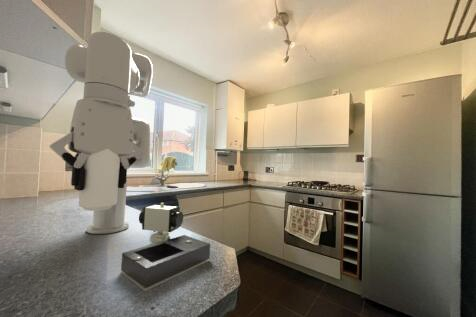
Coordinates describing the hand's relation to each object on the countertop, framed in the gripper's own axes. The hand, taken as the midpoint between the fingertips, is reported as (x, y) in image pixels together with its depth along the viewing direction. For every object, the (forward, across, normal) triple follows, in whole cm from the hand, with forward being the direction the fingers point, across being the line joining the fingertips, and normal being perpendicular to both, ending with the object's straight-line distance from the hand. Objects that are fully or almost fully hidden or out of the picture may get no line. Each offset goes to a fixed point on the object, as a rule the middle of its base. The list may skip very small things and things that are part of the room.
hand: (100, 187), depth 39 cm
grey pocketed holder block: (+18, -13, +6) cm, 23 cm away
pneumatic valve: (+18, -19, -7) cm, 27 cm away
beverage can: (+4, 0, 0) cm, 4 cm away
